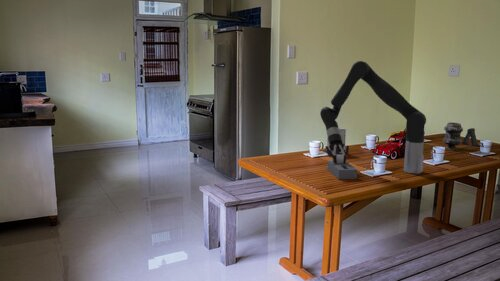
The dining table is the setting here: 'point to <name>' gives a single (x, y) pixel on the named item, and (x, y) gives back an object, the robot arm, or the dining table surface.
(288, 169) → the dining table surface
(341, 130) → the candy bar box
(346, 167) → the bore block
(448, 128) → the dark grey tall lump
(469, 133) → the dark grey arch
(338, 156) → the gray rectangular block
